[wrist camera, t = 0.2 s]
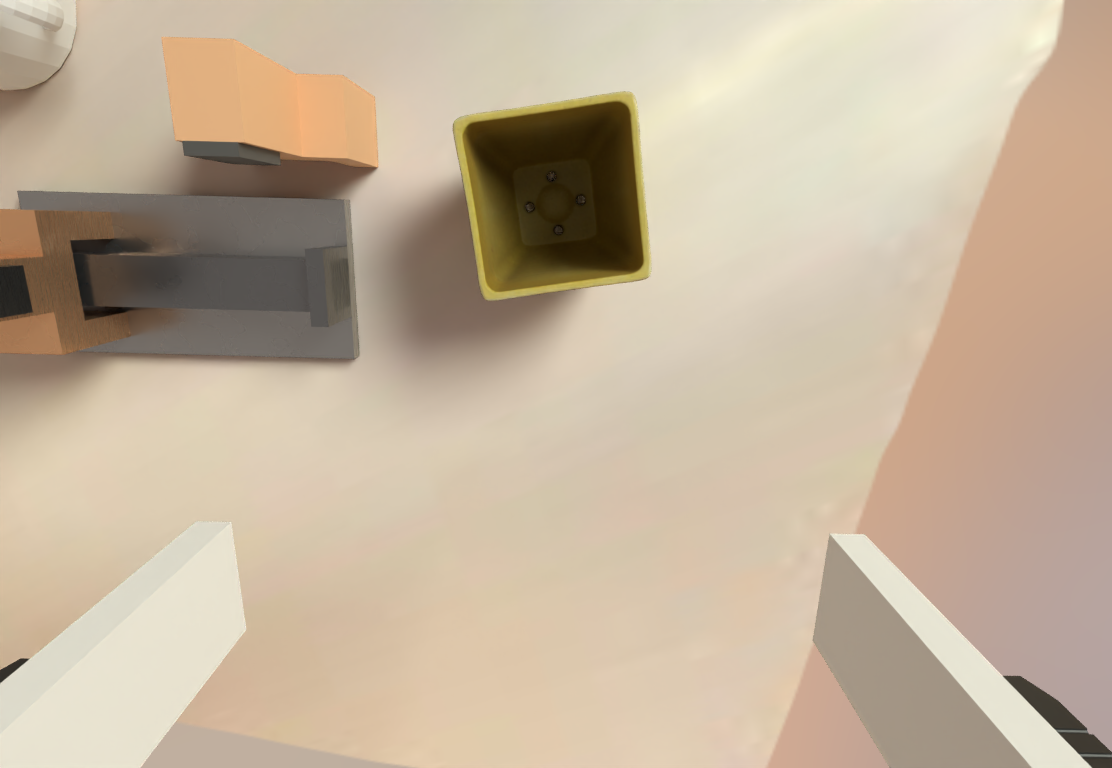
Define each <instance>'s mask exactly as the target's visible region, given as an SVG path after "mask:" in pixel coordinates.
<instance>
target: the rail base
mask: <svg viewBox="0 0 1112 768" xmlns="http://www.w3.org/2000/svg"><path fill="white" fill-rule="evenodd" d="M17 192H18V197H19V202H20V207H21V210H17V209H0V353H17V354H54V355H64V354H67V353H71V352H75V351H79V352H116V353H153V354H191V355H228V356H266V357H303V358H340V359H355V358H357V357H358V356H359V340H358V324H357V308H356V292H355V276H354V260H353V244H352V228H351V212H350V200H337V199H301V198H264V197H227V196H191V195H154V194H118V193H81V192H44V191H17Z"/></svg>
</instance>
